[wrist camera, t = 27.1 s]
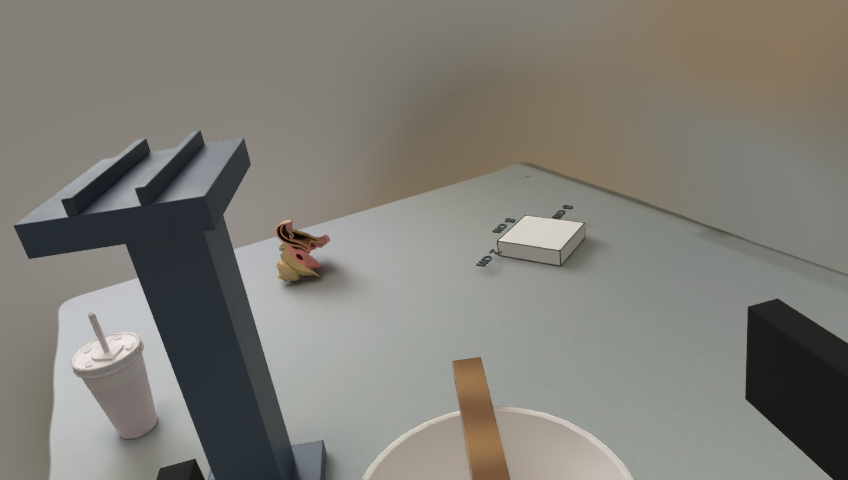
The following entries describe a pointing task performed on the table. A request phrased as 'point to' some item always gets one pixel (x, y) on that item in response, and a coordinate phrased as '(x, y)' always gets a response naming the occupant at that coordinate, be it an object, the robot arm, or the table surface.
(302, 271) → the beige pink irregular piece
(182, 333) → the lectern stand
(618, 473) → the bowl
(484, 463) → the stirring stick
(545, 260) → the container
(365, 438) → the table surface
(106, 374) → the smoothie
